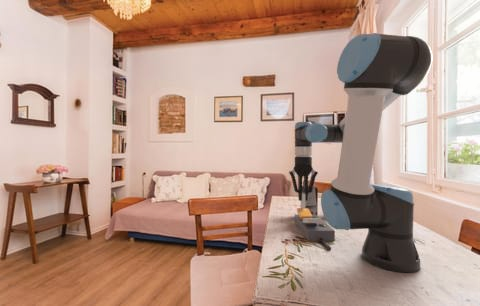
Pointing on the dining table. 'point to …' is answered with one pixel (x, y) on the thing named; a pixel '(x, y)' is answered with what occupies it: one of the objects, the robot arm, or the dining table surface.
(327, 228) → the power strip
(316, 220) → the grey rocker
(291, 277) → the dining table surface
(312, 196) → the coffee box
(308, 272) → the dining table surface
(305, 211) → the amber rocker
